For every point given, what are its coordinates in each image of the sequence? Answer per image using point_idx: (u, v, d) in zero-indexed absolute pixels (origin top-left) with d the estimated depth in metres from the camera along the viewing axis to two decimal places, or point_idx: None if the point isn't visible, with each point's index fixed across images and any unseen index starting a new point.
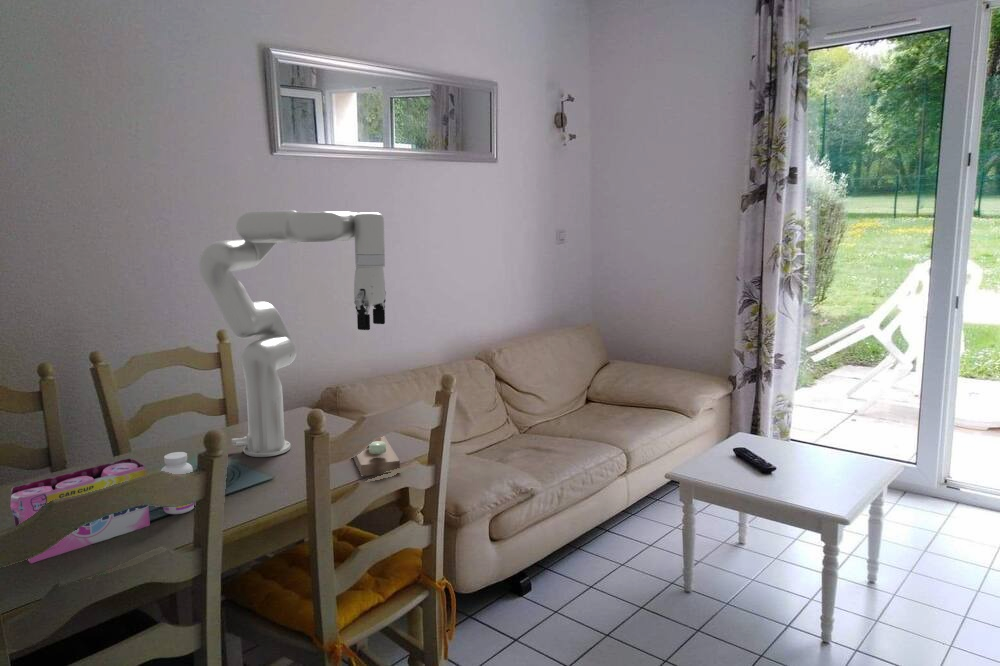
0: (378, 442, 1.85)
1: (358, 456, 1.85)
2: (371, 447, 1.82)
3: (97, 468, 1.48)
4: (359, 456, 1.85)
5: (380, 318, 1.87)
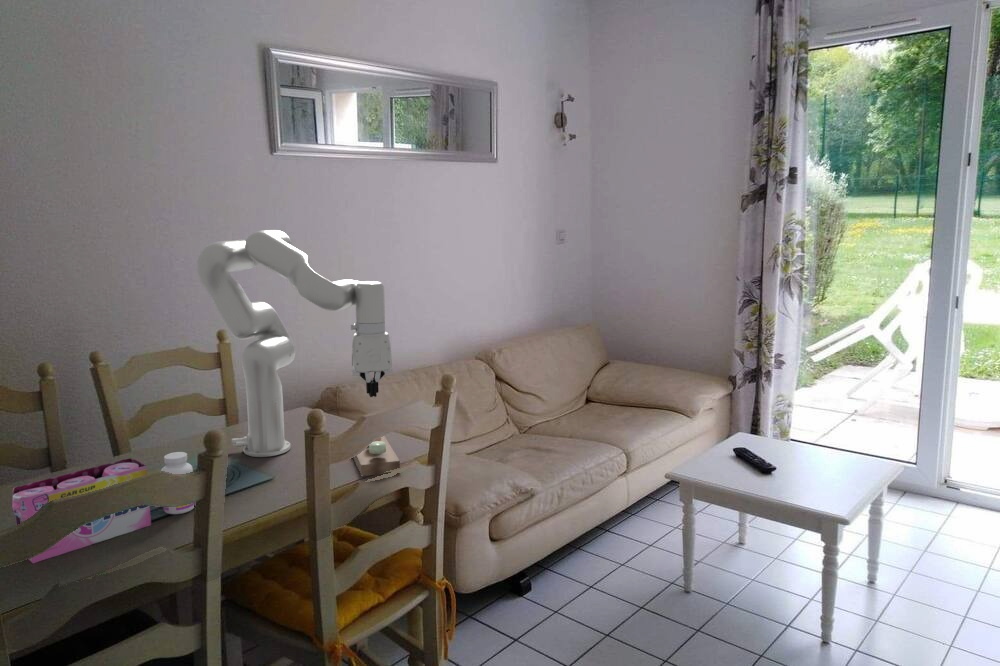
0: (378, 442, 1.85)
1: (358, 456, 1.85)
2: (371, 447, 1.82)
3: (98, 468, 1.48)
4: (359, 456, 1.85)
5: None
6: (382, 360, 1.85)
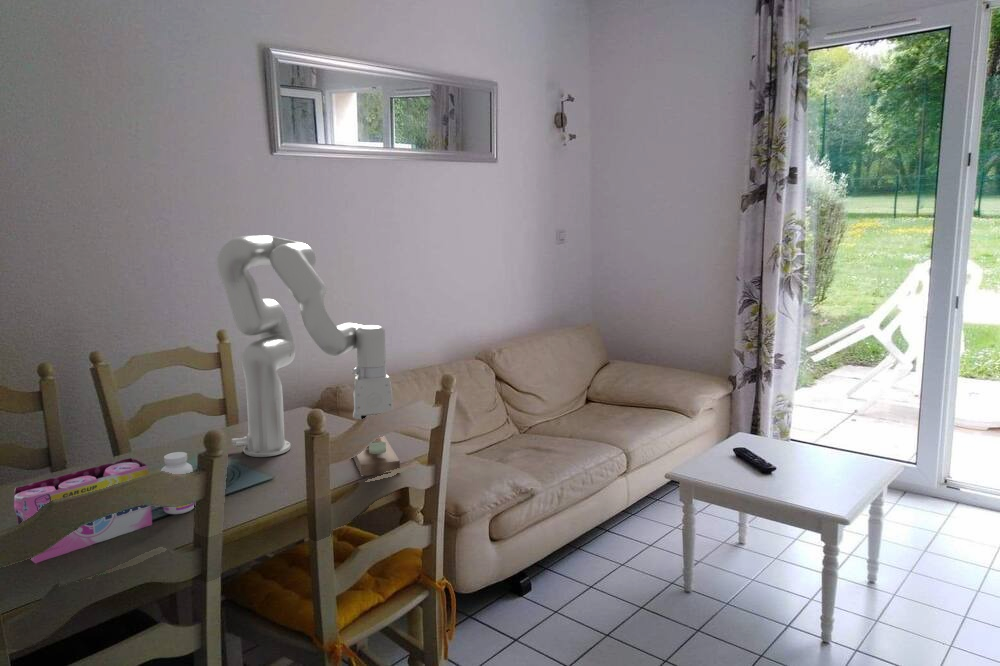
0: (378, 442, 1.85)
1: (358, 456, 1.85)
2: (371, 447, 1.82)
3: (98, 468, 1.48)
4: (359, 456, 1.85)
5: None
6: (383, 403, 1.87)
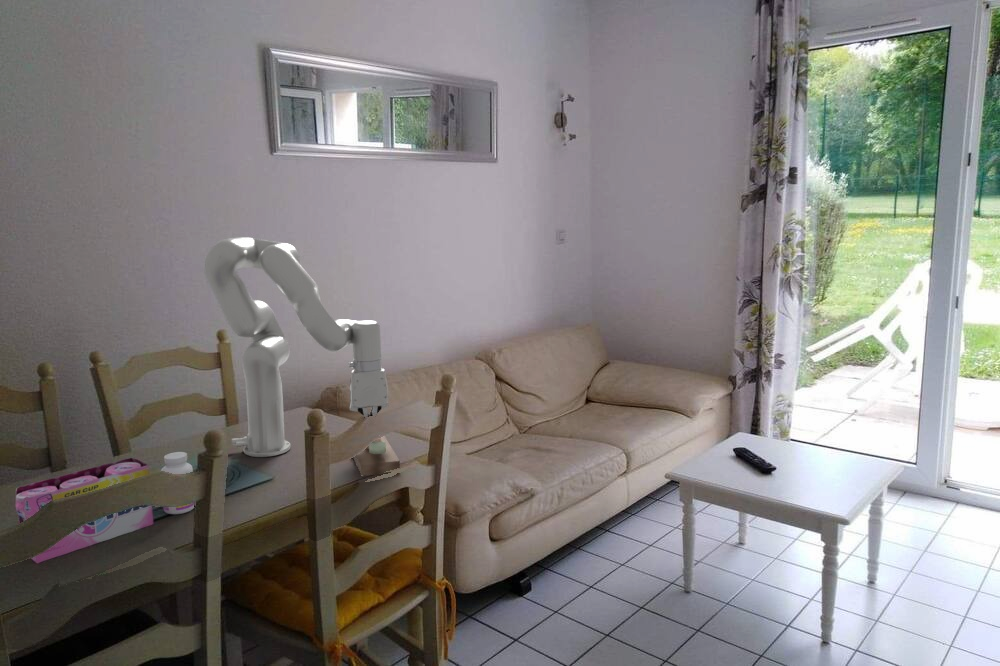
0: (378, 442, 1.85)
1: (358, 456, 1.85)
2: (371, 447, 1.82)
3: (99, 468, 1.48)
4: (359, 456, 1.85)
5: None
6: (379, 396, 1.93)
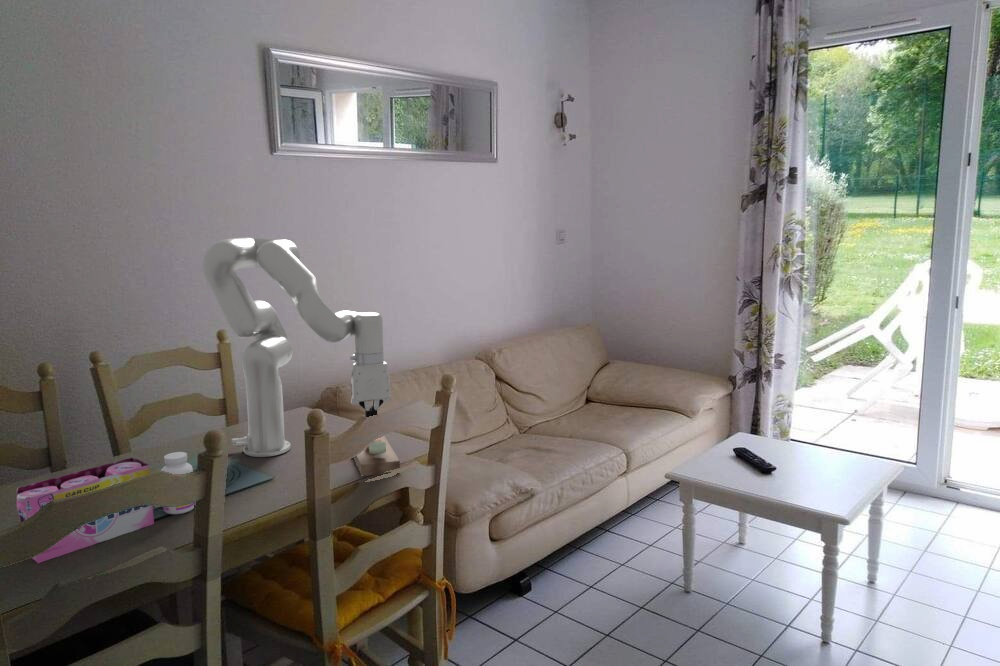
0: (378, 442, 1.85)
1: (358, 456, 1.85)
2: (371, 447, 1.82)
3: (100, 468, 1.48)
4: (359, 456, 1.85)
5: None
6: (381, 389, 1.90)
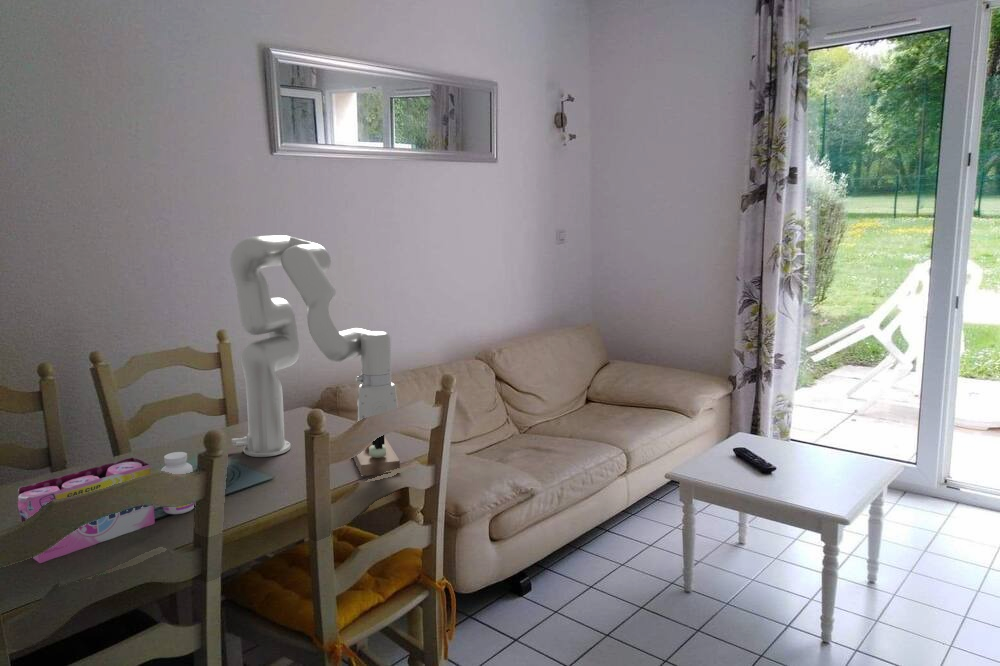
0: None
1: (358, 456, 1.85)
2: (371, 450, 1.82)
3: (101, 468, 1.48)
4: (359, 456, 1.85)
5: None
6: None
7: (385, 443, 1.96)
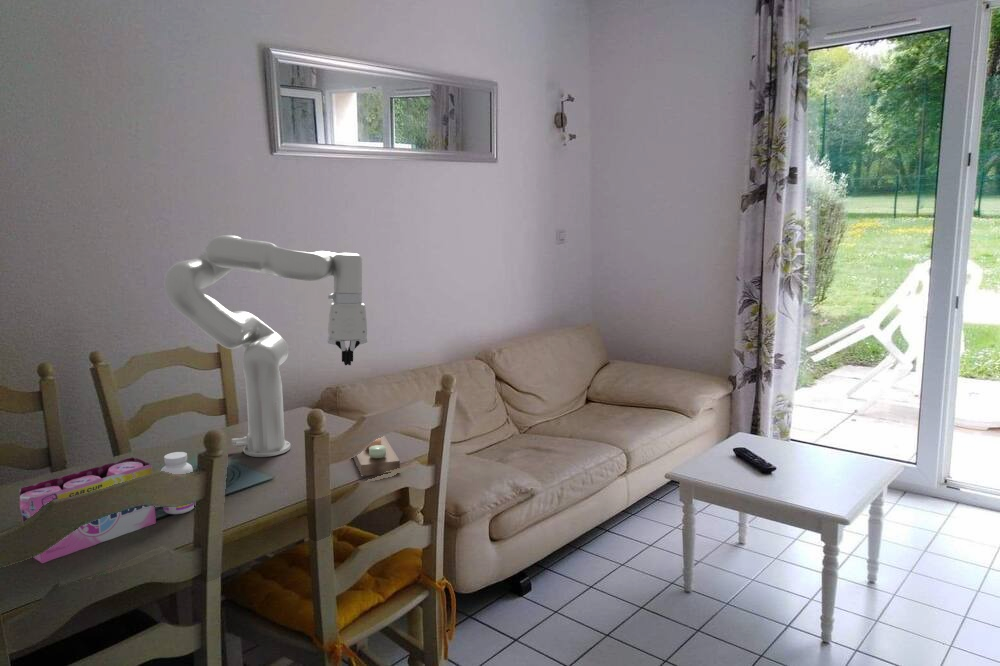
0: (378, 446, 1.85)
1: (358, 456, 1.85)
2: (371, 451, 1.82)
3: (101, 468, 1.48)
4: (359, 456, 1.85)
5: None
6: (357, 330, 1.91)
7: (385, 443, 1.96)
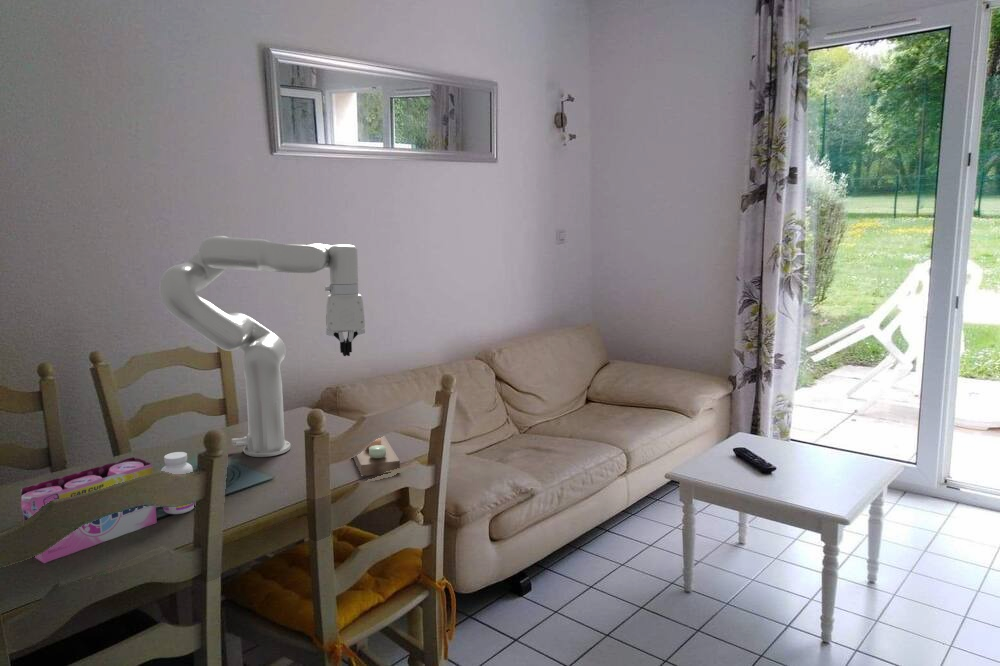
0: (378, 446, 1.85)
1: (358, 456, 1.85)
2: (371, 451, 1.82)
3: (102, 468, 1.48)
4: (359, 456, 1.85)
5: None
6: (355, 320, 1.92)
7: (385, 443, 1.96)
